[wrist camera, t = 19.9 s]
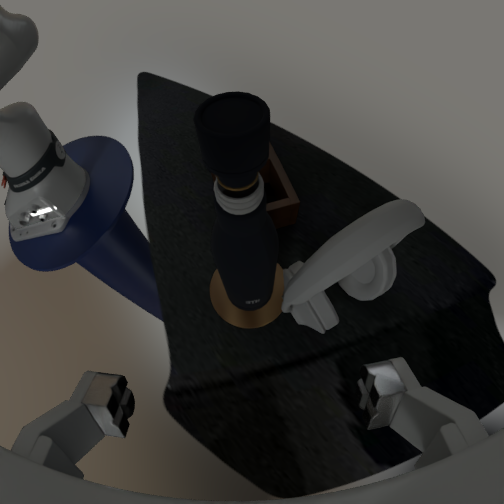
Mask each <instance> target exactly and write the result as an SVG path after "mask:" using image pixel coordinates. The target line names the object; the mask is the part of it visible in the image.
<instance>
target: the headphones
mask: <svg viewBox="0 0 504 504" xmlns="http://www.w3.org/2000/svg"><path fill="white" fill-rule="evenodd" d="M424 222H425V218H424V215H423V213H422V212H421V209H420V208H419V207H418V206H417V205H416V204H414V203H412V202H410V201H408V200H395V201H391V202H389V203H386V204H384V205H382V206H380V207H378V208H376V209H374V210H372V211H371V212H369V213H367V214H365V215H364V216H362V217H360V218H359V219H357V220H356V221H354V222H353V223H351V224H350V225H348V226H347V227H345V228H344V229H342V230H341V231H340V232H338V233H337V234H335V235H334V236H333V237H331V238H330V239H329V240H328V241H327V242H326V243H325V244H323V245H322V246H321V247H320V248H319V249H318V250H317V251H316V252H315V253H314V254H313V255H312V256H311V257H310V258H309V259H308V260H307V261H306V262H305V263H303V262H301V261H298V262H296V263H294V264H293V265H291V266H290V267H289V268H288V269H284V270H283V276H284V291H283V295H282V299H283V302H282V307H281V309H282V311H283V312H285V313H287V312H291V314H292V315H293V317H294V318H295V320H296V321H297V323H298V324H299V325H300V324H302V325H307V326H309V327H311V328H313V329H315V330H317V331H318V332H320V333H322V334H324V333H325V331H326V330H329V329H330V328H332V327H333V326H335V325H337V324H338V322H339V318H338V315H337V313H336V311H335V309H334V307H333V306H332V304H331V302H330V300H329V298H328V297H327V295H326V294H325V292H324V290H325V289H327V288H328V287H330V286H331V285H333V284H334V283H336V282H337V281H338V283H339V285H340V286H341V287H342V288H343V289H344V290H345V292H346V293H347V294H348V295H350V296H352V297H354V298H356V299H358V300H361V301H363V300H373V299H375V298H376V297H378V296H379V295H382V294H383V293H384V292H386V291H387V290H388V289H390V288H391V286H392V284H393V282H394V279H395V277H396V258H395V256H394V254H393V252H392V248H393V247H395V246H396V245H397V244H398V243H399V242H400V241H401V240H402V239H403V238H404V237H405V236H406V235H407V234H409V233H410V232H412V231H414V230H416V229H417V228H420V227H422V226H423V225H424Z"/></svg>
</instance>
